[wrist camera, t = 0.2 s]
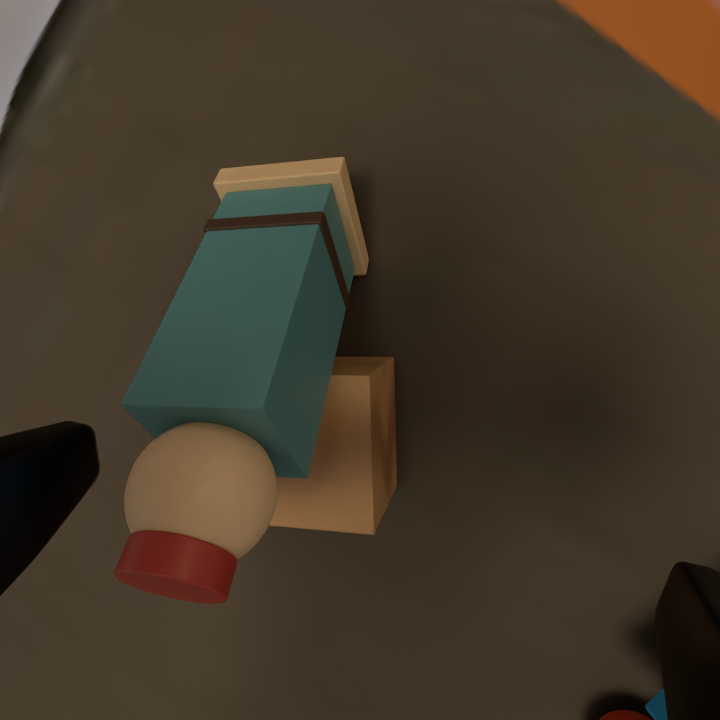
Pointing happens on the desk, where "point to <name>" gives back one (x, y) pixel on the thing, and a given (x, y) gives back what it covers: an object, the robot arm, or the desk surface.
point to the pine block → (347, 454)
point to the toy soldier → (239, 374)
